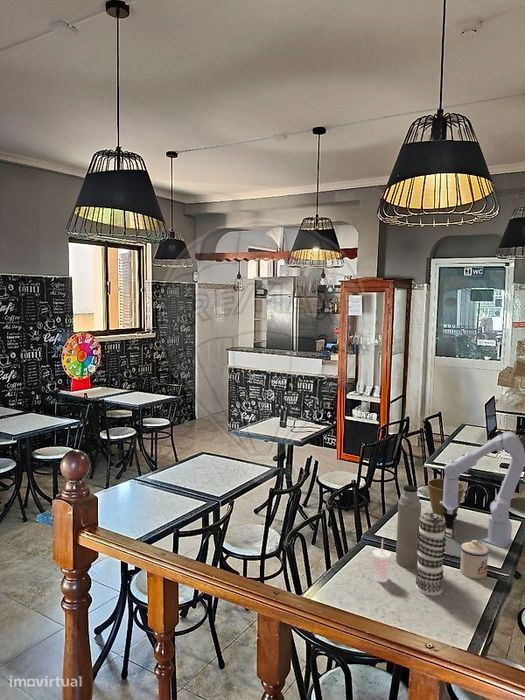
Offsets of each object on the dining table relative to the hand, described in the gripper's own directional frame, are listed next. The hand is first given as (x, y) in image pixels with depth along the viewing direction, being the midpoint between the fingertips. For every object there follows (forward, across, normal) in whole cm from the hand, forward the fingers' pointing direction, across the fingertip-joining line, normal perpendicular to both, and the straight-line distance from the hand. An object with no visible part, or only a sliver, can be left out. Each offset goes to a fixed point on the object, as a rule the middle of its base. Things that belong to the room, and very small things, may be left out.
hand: (448, 524), depth 218 cm
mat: (+4, +12, +1) cm, 13 cm away
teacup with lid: (+4, +29, +9) cm, 31 cm away
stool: (+4, 0, 0) cm, 4 cm away
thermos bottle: (+4, +31, -14) cm, 34 cm away
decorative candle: (+4, +47, -6) cm, 48 cm away
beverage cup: (+4, +46, -22) cm, 51 cm away
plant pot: (+4, -15, -2) cm, 16 cm away
